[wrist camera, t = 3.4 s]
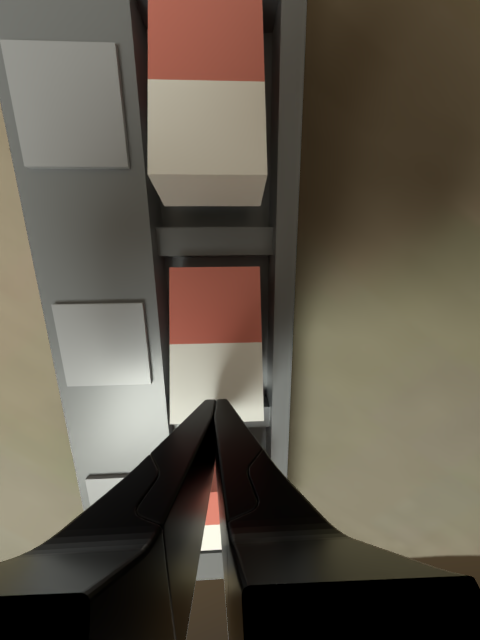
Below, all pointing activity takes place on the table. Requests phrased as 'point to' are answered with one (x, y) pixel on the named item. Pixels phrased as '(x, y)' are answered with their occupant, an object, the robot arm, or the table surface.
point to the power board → (137, 224)
